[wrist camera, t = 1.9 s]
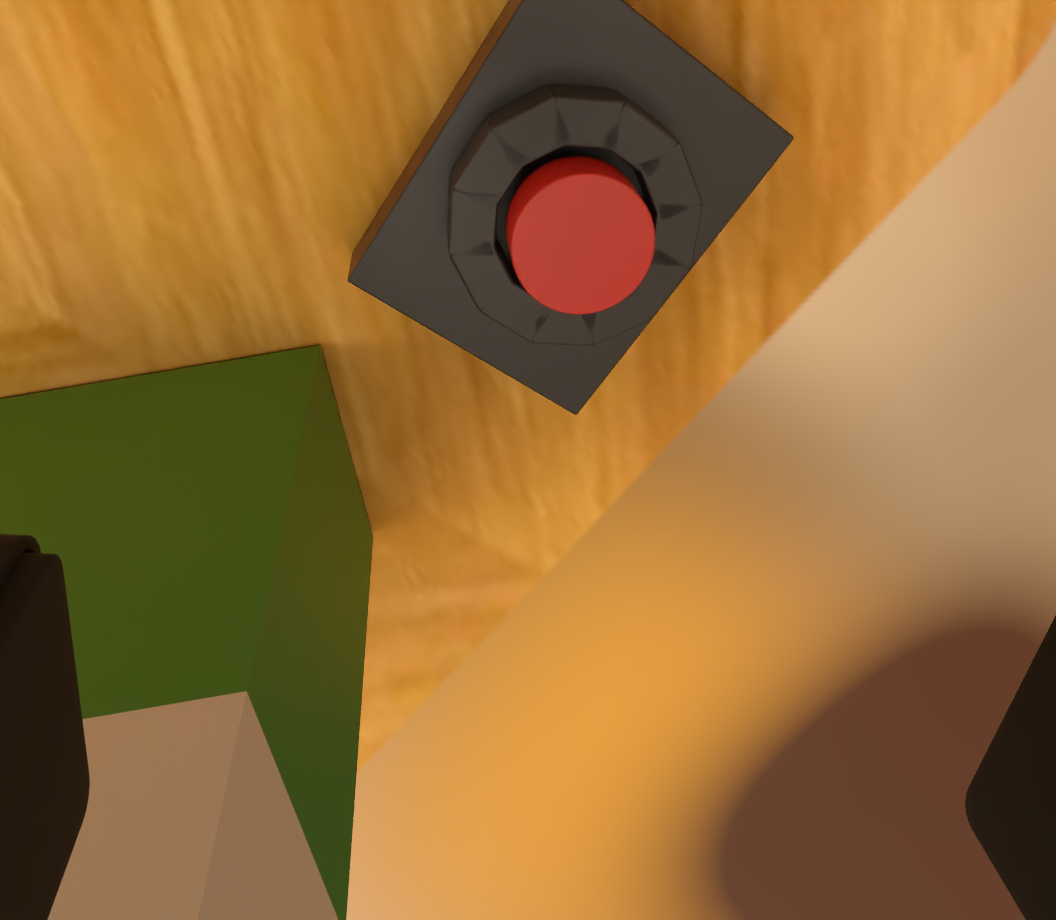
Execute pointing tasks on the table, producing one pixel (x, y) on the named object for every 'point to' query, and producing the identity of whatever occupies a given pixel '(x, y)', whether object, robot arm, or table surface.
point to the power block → (540, 137)
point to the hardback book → (204, 631)
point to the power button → (579, 235)
